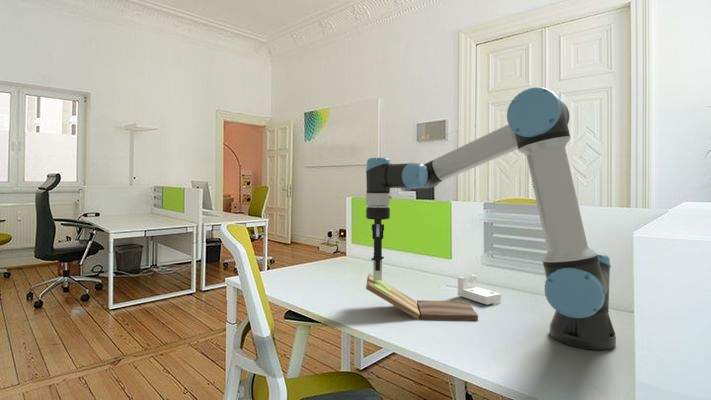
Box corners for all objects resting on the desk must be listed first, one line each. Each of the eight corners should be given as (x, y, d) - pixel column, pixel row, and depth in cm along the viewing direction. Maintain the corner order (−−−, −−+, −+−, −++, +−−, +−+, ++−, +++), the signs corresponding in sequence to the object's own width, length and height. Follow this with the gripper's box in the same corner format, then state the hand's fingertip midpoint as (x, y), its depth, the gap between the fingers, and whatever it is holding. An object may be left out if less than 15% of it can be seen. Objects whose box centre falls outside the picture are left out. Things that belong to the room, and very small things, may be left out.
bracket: (457, 297, 141) (457, 276, 140) (471, 294, 144) (471, 274, 144) (486, 307, 129) (487, 285, 129) (500, 304, 133) (501, 282, 133)
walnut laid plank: (477, 320, 116) (478, 315, 116) (421, 319, 117) (421, 314, 117) (467, 305, 130) (467, 301, 130) (416, 304, 131) (416, 300, 131)
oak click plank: (417, 319, 117) (420, 314, 117) (365, 288, 118) (368, 284, 118) (413, 304, 131) (415, 300, 131) (367, 277, 132) (369, 273, 132)
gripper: (390, 208, 117) (389, 285, 118) (389, 205, 130) (388, 275, 131) (365, 207, 117) (365, 284, 118) (366, 205, 130) (366, 274, 131)
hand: (377, 279), depth 125 cm, fingers closed
